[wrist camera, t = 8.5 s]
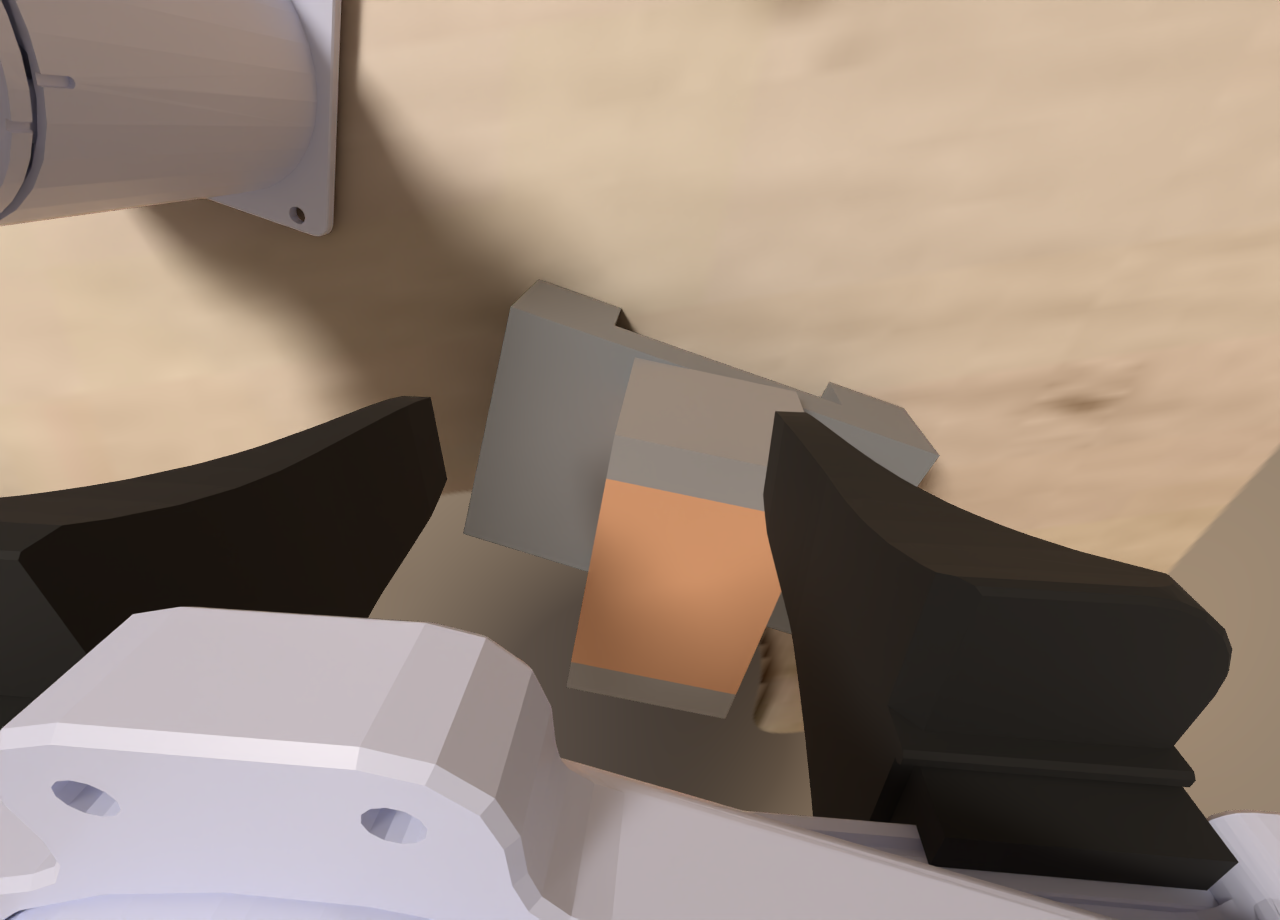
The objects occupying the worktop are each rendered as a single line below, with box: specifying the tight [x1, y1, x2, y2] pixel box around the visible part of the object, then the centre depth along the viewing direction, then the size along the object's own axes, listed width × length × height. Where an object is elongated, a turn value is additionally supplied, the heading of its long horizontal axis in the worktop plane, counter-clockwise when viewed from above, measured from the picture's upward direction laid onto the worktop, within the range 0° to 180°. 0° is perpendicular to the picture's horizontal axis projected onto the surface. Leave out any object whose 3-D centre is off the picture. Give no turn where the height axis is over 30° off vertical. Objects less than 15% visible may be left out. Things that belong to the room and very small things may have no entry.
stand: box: [463, 279, 939, 634], centre depth 21 cm, size 14×9×4 cm, turn 72°
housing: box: [566, 357, 804, 719], centre depth 17 cm, size 9×5×5 cm, turn 169°
